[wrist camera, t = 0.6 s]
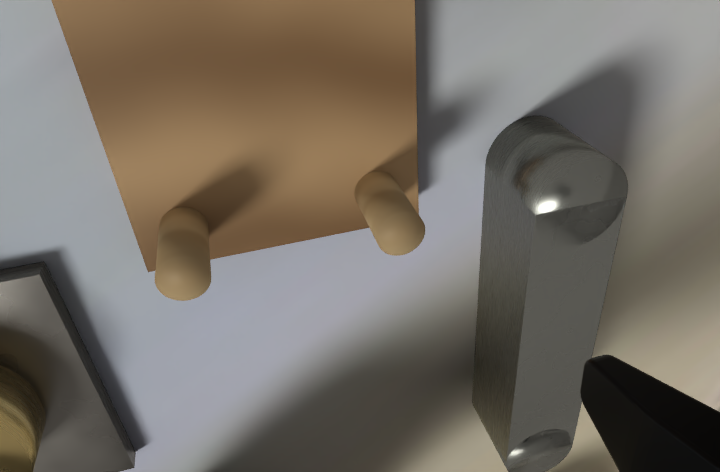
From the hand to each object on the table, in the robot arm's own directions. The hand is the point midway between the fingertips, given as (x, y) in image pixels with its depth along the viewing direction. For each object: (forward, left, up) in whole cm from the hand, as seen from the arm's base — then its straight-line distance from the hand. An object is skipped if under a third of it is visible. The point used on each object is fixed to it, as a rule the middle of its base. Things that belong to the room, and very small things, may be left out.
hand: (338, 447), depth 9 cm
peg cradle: (+2, 0, -13) cm, 13 cm away
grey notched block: (-10, -10, -13) cm, 19 cm away
